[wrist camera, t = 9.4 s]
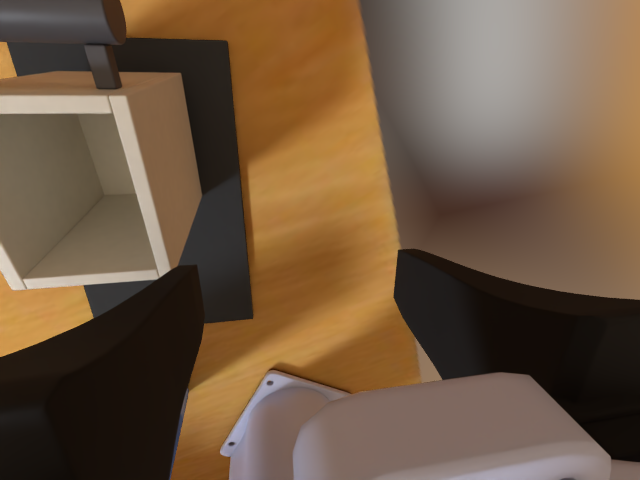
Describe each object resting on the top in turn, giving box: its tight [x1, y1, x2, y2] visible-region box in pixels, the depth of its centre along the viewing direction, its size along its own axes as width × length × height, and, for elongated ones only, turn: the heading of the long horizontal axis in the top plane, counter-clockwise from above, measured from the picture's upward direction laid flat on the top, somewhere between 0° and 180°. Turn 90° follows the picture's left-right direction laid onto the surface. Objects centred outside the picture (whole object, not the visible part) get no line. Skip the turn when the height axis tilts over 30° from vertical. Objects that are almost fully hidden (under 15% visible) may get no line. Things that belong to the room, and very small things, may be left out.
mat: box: [7, 38, 253, 324], centre depth 19 cm, size 17×10×1 cm, turn 0°
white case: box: [0, 0, 202, 290], centre depth 13 cm, size 8×6×9 cm
